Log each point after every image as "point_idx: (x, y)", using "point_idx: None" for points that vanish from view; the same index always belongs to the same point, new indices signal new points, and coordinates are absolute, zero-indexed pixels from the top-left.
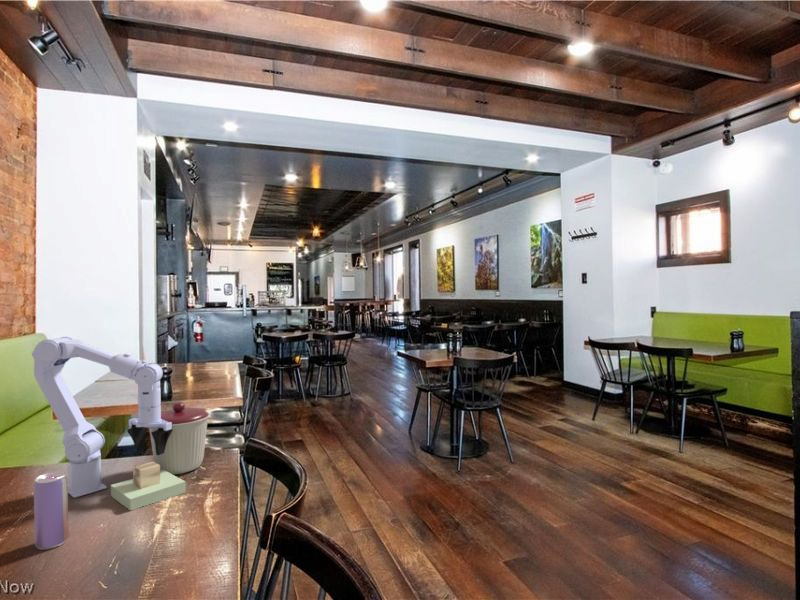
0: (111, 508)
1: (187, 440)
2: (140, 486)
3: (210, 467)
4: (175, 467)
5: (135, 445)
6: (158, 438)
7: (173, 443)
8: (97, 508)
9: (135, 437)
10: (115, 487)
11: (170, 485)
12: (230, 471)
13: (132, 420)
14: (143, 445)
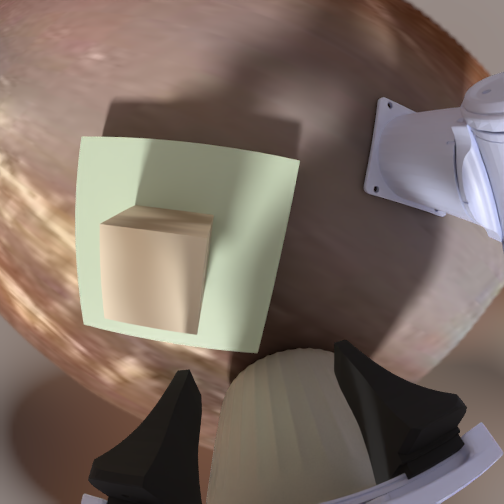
0: (176, 108)
1: (213, 473)
2: (133, 207)
3: (218, 419)
4: (241, 379)
5: (362, 360)
6: (115, 447)
7: (239, 451)
8: (222, 82)
9: (379, 401)
10: (252, 155)
11: (85, 283)
12: None
13: (471, 480)
14: (344, 386)
